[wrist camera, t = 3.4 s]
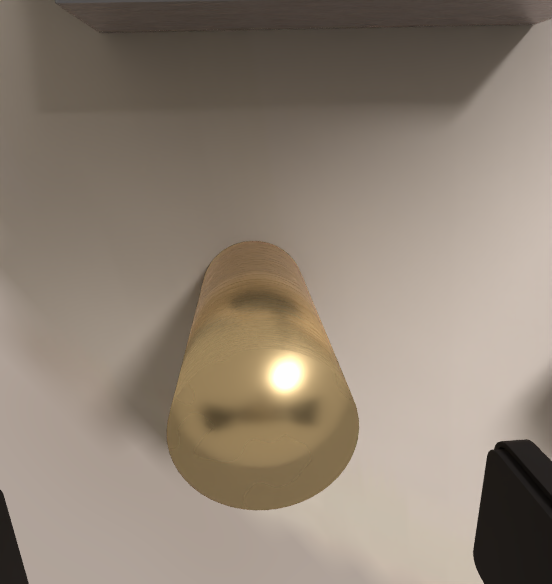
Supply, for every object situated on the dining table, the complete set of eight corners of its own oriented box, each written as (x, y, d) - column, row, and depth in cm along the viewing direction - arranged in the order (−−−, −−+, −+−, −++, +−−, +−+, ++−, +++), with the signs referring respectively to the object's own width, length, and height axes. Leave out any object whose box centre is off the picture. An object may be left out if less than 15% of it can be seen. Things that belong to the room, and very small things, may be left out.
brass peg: (303, 238, 19) (362, 343, 10) (303, 333, 21) (355, 503, 11) (198, 243, 19) (155, 354, 9) (206, 338, 20) (177, 517, 11)
